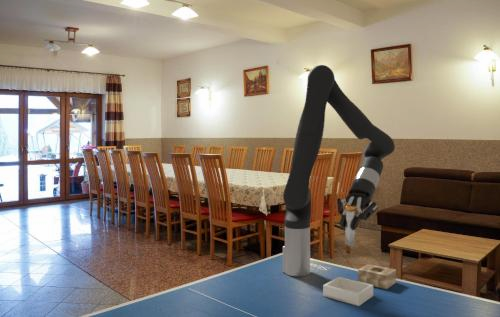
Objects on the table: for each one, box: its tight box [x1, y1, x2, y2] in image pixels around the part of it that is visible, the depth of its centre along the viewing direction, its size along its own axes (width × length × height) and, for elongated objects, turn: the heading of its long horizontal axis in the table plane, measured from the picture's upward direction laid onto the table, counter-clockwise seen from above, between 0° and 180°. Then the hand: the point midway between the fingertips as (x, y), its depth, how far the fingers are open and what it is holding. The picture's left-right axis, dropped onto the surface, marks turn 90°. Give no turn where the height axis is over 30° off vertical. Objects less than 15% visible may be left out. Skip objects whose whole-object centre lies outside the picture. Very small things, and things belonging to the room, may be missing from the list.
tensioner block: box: [357, 263, 397, 290], centre depth 142 cm, size 10×8×4 cm
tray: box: [322, 276, 374, 307], centre depth 130 cm, size 12×10×4 cm
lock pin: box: [344, 204, 356, 247], centre depth 130 cm, size 3×3×12 cm
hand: (347, 227), depth 128 cm, fingers closed on lock pin, 2 cm apart
